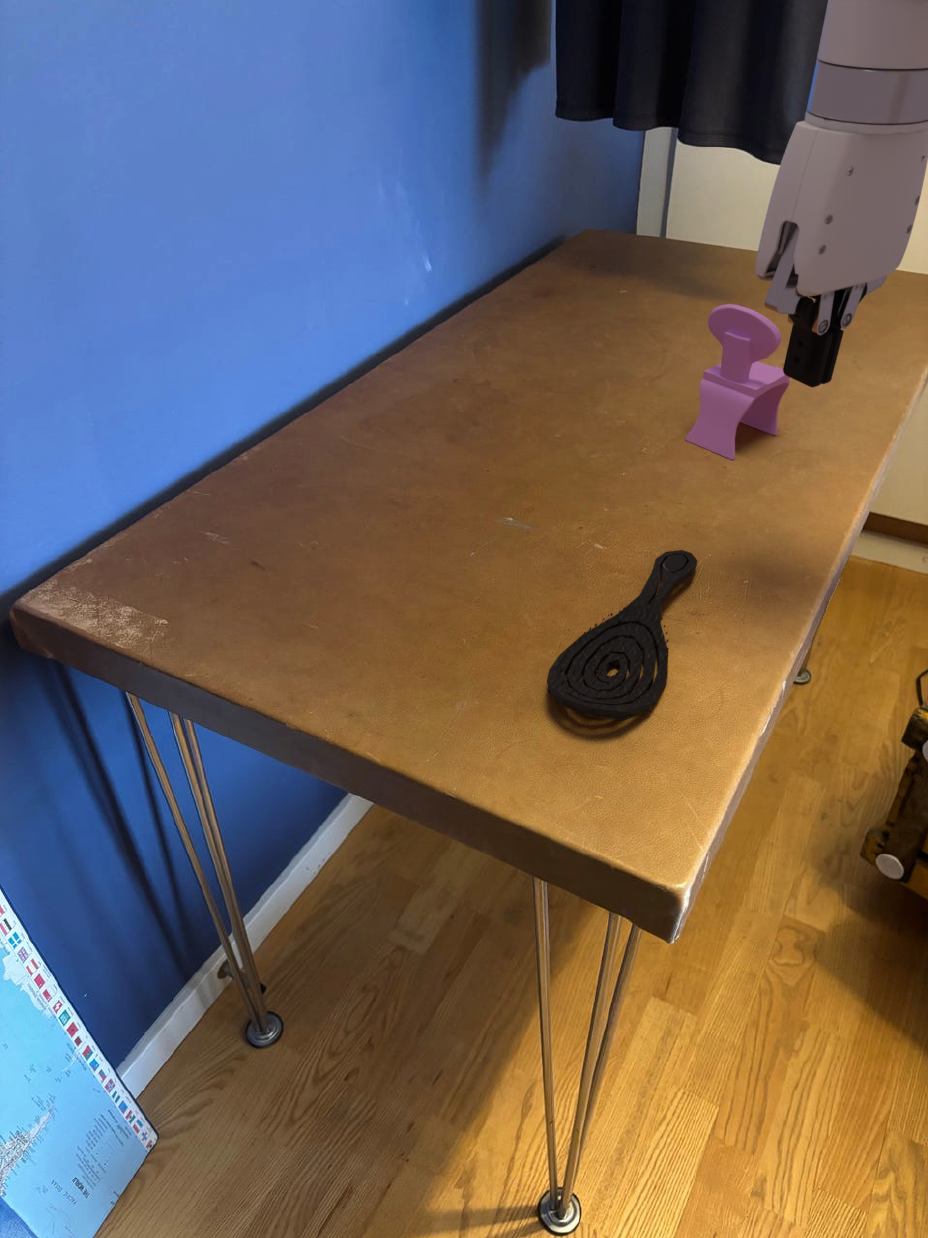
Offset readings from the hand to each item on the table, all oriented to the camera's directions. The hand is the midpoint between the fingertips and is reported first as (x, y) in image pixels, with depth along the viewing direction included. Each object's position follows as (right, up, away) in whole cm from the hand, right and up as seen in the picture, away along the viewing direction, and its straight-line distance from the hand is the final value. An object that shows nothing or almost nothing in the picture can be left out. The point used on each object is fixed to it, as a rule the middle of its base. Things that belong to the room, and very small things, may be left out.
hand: (805, 378), depth 67 cm
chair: (+4, +2, +33) cm, 33 cm away
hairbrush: (-11, -19, +6) cm, 23 cm away
